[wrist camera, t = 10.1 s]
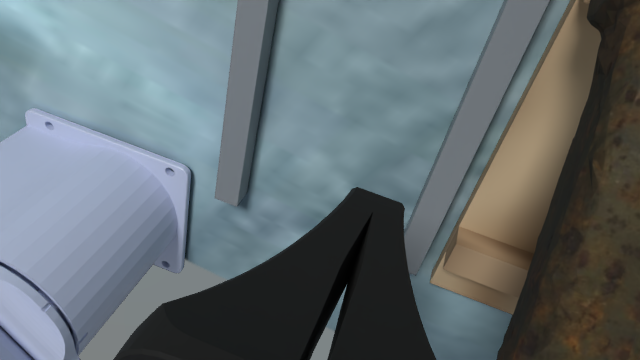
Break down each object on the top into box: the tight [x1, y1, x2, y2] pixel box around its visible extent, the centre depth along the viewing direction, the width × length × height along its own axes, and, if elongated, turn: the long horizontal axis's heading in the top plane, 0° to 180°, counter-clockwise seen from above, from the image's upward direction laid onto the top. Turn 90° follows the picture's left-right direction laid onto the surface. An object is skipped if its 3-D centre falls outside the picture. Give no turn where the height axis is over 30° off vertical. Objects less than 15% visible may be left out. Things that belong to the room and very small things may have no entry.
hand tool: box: [497, 0, 640, 360], centre depth 14 cm, size 19×4×5 cm
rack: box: [430, 0, 601, 315], centre depth 19 cm, size 8×18×2 cm, turn 168°
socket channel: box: [215, 0, 550, 275], centre depth 21 cm, size 10×18×1 cm, turn 168°
